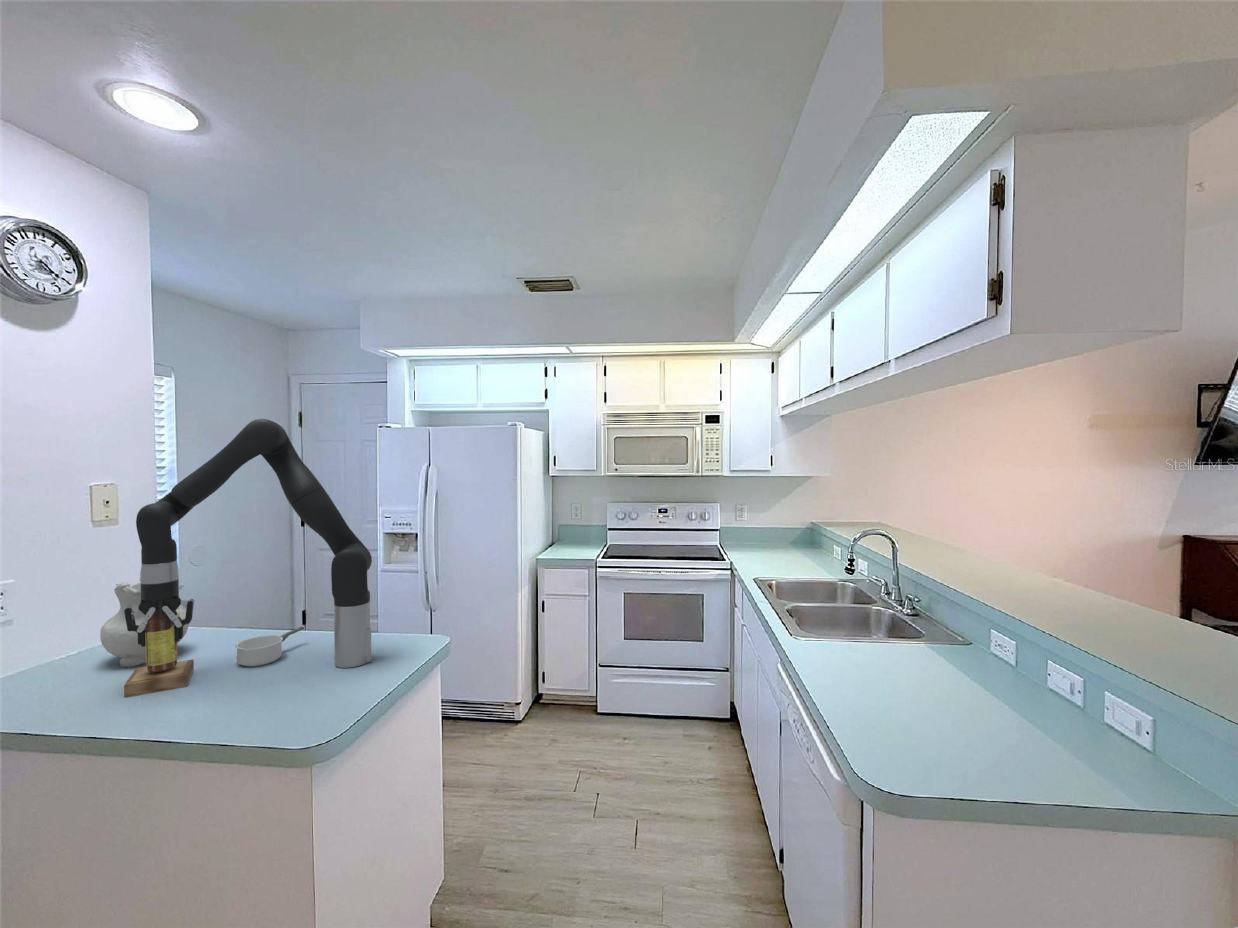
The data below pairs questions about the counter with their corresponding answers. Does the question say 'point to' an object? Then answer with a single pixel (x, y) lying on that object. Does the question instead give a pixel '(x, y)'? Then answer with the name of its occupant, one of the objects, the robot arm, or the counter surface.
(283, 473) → the robot arm
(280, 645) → the saucepan
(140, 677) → the walnut base block
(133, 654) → the ceramic pitcher
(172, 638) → the sauce bottle
